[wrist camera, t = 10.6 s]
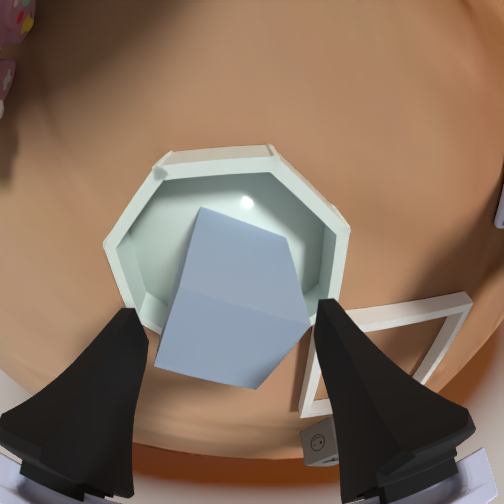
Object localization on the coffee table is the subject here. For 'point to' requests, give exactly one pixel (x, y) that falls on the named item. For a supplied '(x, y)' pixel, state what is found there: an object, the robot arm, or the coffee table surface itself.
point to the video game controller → (13, 37)
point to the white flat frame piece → (389, 317)
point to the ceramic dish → (233, 205)
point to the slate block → (232, 304)
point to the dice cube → (320, 444)
